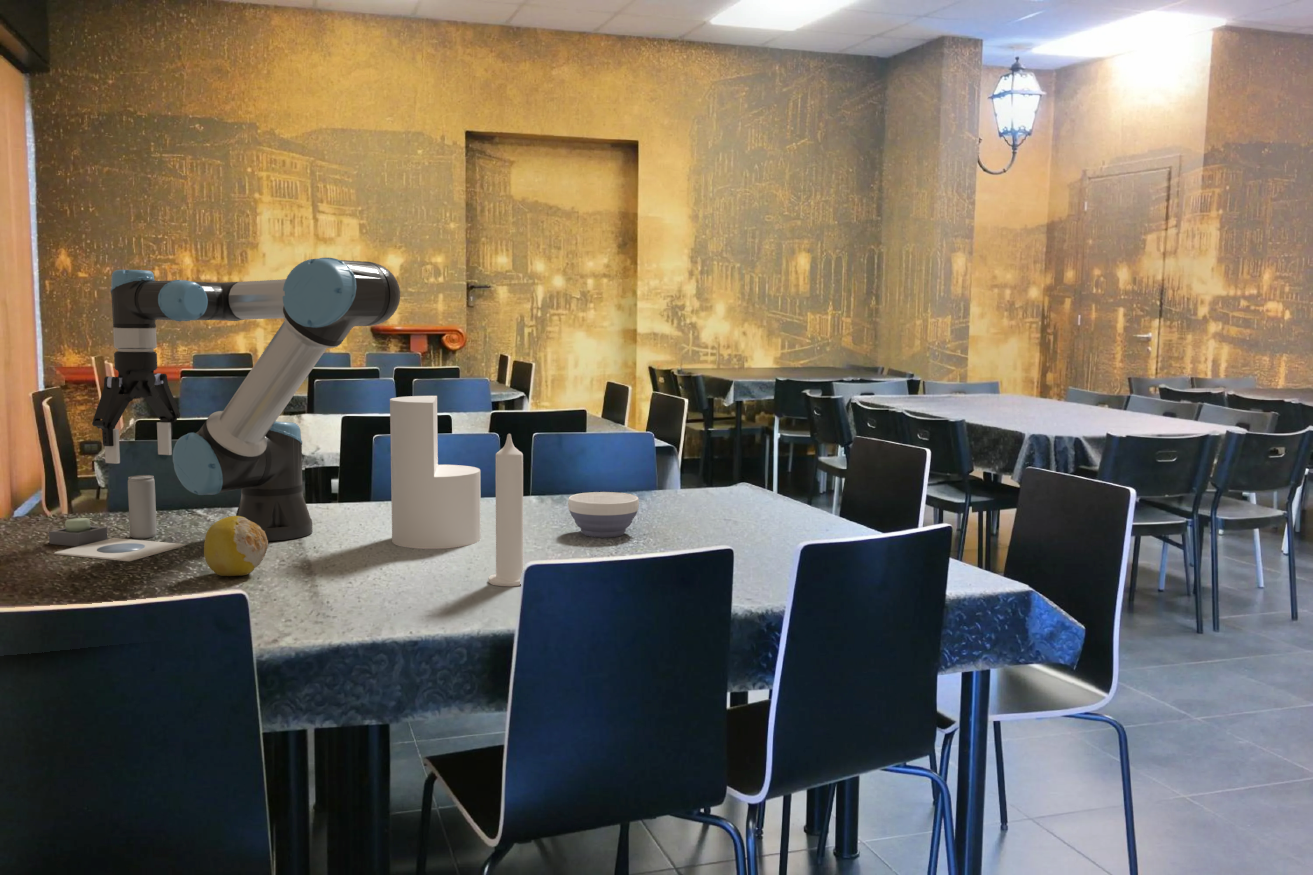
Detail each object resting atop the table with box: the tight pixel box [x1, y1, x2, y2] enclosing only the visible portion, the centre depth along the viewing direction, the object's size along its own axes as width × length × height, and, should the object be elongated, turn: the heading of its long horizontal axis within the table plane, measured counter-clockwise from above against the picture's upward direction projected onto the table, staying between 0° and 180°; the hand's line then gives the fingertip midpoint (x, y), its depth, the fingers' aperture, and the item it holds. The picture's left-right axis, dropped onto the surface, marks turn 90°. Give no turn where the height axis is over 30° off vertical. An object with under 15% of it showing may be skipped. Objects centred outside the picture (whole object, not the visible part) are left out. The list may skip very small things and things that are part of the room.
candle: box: [487, 433, 524, 587], centre depth 180 cm, size 7×7×25 cm
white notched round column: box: [389, 395, 482, 550], centre depth 213 cm, size 17×17×28 cm
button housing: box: [48, 525, 108, 547], centre depth 208 cm, size 7×7×2 cm
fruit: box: [203, 515, 269, 577], centre depth 183 cm, size 10×11×10 cm
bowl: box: [567, 491, 640, 539], centre depth 221 cm, size 14×14×8 cm
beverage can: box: [127, 474, 158, 540], centre depth 213 cm, size 5×5×12 cm
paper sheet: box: [53, 537, 186, 562], centre depth 202 cm, size 17×14×1 cm
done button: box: [64, 517, 91, 532], centre depth 208 cm, size 4×4×2 cm
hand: (139, 458), depth 212 cm, fingers open, 13 cm apart
